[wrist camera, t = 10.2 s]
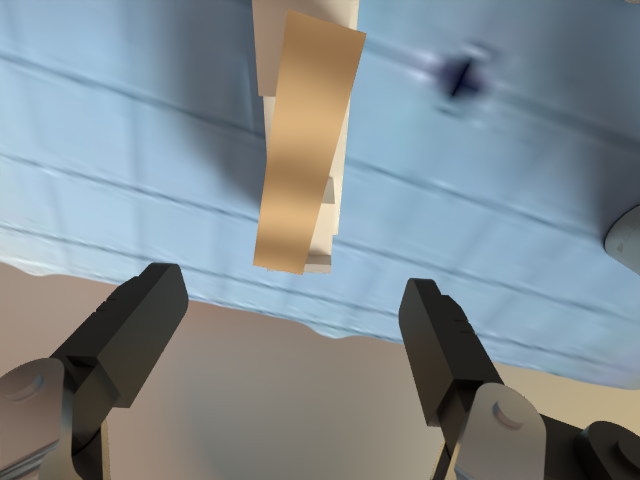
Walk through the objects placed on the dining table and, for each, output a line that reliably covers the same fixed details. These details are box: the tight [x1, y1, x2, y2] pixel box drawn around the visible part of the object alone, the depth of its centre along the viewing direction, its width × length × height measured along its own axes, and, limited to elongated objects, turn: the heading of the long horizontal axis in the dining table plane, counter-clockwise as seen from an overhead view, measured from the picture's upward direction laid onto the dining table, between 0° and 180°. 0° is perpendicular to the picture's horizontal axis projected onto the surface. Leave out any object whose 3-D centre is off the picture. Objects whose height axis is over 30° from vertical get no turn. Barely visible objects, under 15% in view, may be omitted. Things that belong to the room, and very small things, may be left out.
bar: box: [253, 9, 366, 275], centre depth 19 cm, size 16×4×4 cm, turn 166°
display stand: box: [252, 0, 359, 273], centre depth 24 cm, size 22×8×10 cm, turn 177°
